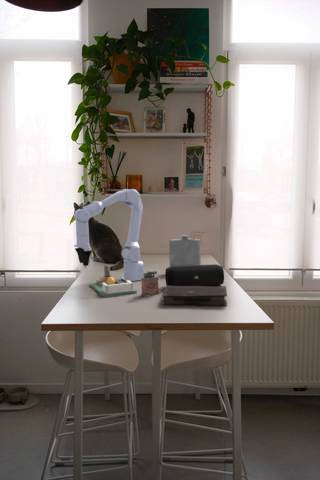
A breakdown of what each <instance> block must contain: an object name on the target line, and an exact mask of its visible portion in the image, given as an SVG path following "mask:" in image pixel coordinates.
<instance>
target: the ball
mask: <svg viewBox="0 0 320 480" xmlns="http://www.w3.org/2000/svg"><path fill="white" fill-rule="evenodd" d="M115 279H116V278H115ZM115 279H114V278H113V277H109V278H108V279H107V281H106V282H107V284H108V285H113V284H115Z"/></svg>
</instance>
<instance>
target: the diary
mask: <svg viewBox="0 0 320 480" xmlns="http://www.w3.org/2000/svg"><path fill="white" fill-rule="evenodd" d="M227 296H228V291H227V285H226V286H225V285H223V286H222V285H219V286H166V285H165V288H164V290H163V293H162V295H161V297H163V298H164V301H163V302H162V304H161V305H162V306H166V307H167V306H168V307H169V306H170V307H216V308H217V307H222V308H227V307H228V303H227V299H225V298H226V297H227Z"/></svg>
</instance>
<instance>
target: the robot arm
mask: <svg viewBox="0 0 320 480" xmlns="http://www.w3.org/2000/svg"><path fill="white" fill-rule="evenodd" d="M117 202H123V203H125V204H127V205H128V207H129V208H130V210H131V211H130V217H129V218H130V219H129V226H128V233H127V240H126V241H125V243H124V247H123V248H122V250H121V257H122V258H123V276H122V277H121V280H122V281H123V280H124V282H126V280H129V281H131V282H135V281H142V280H141V278H142V277H144V273H145V266H144V262H143V261H142V260H140V258H141V252H140V249H141V247H140V244H139V237H140V230H141V222H142V216H143V210H144V206H143V202H142V198H141V194H140V192H139V191H138V190H137V189H134V188H131V189H130V188H129V189H128V188H124V189H121V190H118V191H116V192H115V193H113V194H111V195H110V196H107V197H106V198H105V199H102V200H101V201H98V200H94V201H93V200H92V201H91V202H90V203H89V204H87V205H86V206H85V205H84V206H82V208H78V209H77V210H75V211H74V213H73V219H74V220H75V232H76V233H75V236H76V244H74V245H73V246H74V250H75V252H76V254H77V257H78V261H79V263H80V264H82V265H83V267H86V266H89V263H90V259H91V255H92V251H93V250H90V232H89V231H90V229H89V221H90V219H91V218H92V217H95V216H97V215H98V214H101V213H102V212H103V210H104V208H107V207H108V206H111V205H112V204H113V205H114V204H115V203H117Z"/></svg>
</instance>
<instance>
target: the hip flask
mask: <svg viewBox="0 0 320 480" xmlns="http://www.w3.org/2000/svg"><path fill="white" fill-rule="evenodd" d="M180 237H181V238H180V239H179V238H178V239H169V240H168V241H169V243H168V245H169V251H168V252H169V267H171V266H187V265H202V264H201V263H202V262H201V257H202V255H201V252H202V251H201V250H202V249H201V239H196V238H189V235H188V234H181V236H180Z"/></svg>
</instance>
